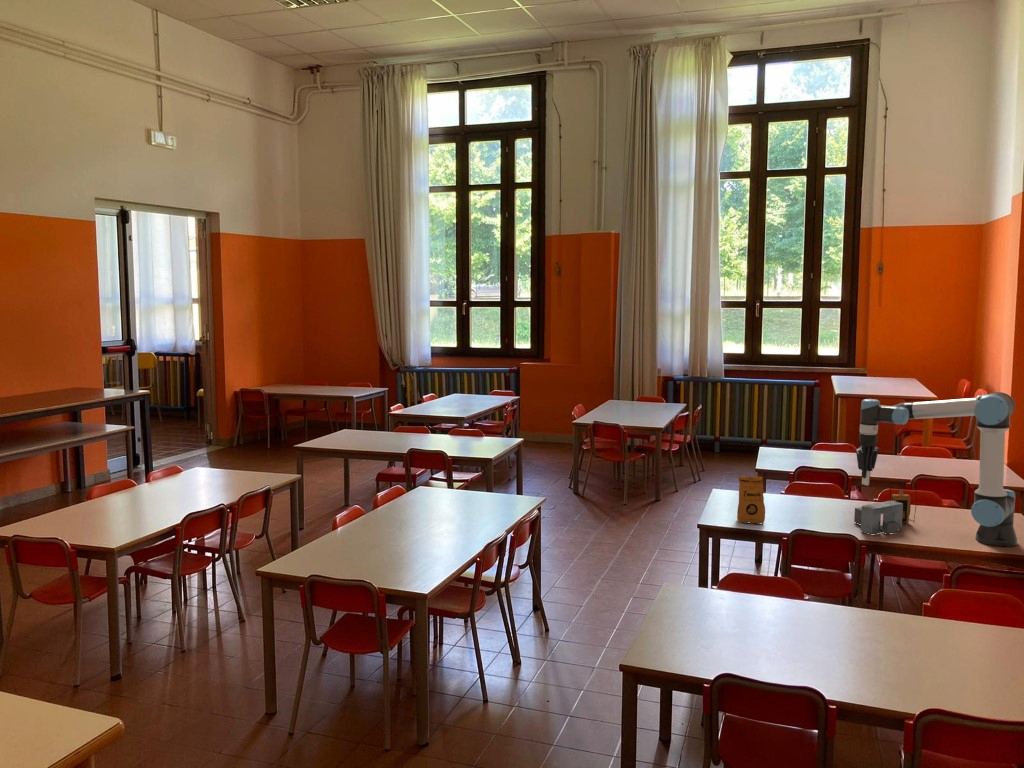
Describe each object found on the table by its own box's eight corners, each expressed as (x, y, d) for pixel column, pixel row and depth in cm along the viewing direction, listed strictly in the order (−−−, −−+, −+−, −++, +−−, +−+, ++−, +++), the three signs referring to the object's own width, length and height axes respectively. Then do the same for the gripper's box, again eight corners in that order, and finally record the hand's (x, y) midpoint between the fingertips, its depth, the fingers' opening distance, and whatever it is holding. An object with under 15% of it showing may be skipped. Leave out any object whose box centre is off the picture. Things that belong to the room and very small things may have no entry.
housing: (901, 529, 359) (903, 503, 358) (872, 535, 351) (873, 509, 350) (890, 526, 365) (891, 500, 363) (860, 531, 356) (861, 505, 355)
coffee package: (764, 526, 366) (766, 479, 364) (736, 524, 370) (737, 477, 367) (764, 520, 376) (766, 474, 373) (737, 518, 379) (738, 472, 377)
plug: (899, 533, 354) (899, 518, 353) (886, 535, 352) (886, 519, 351) (866, 521, 373) (867, 506, 372) (854, 522, 371) (854, 507, 370)
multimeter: (908, 517, 378) (910, 476, 376) (917, 523, 368) (919, 481, 366) (876, 517, 379) (878, 475, 377) (884, 523, 369) (886, 480, 367)
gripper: (864, 436, 355) (861, 487, 358) (885, 433, 360) (882, 484, 363) (851, 433, 362) (848, 484, 365) (872, 431, 367) (869, 481, 370)
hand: (865, 484), depth 364 cm, fingers closed
